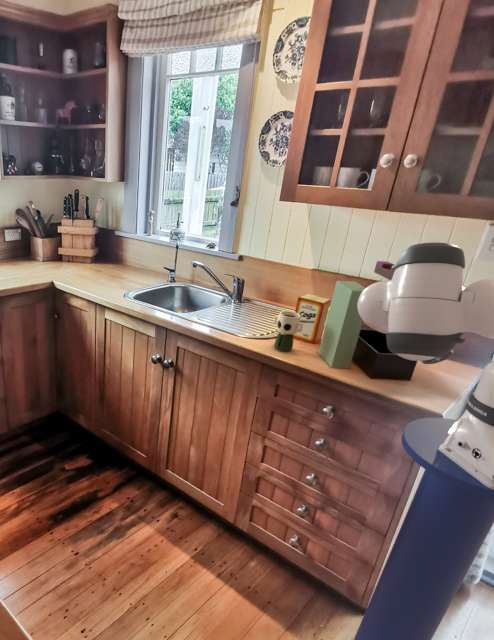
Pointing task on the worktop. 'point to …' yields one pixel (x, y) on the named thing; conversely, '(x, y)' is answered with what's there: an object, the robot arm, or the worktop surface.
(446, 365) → the worktop surface
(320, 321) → the baking soda box
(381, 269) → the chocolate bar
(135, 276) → the worktop surface
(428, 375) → the worktop surface
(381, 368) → the trash bin
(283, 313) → the character mug
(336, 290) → the green box
